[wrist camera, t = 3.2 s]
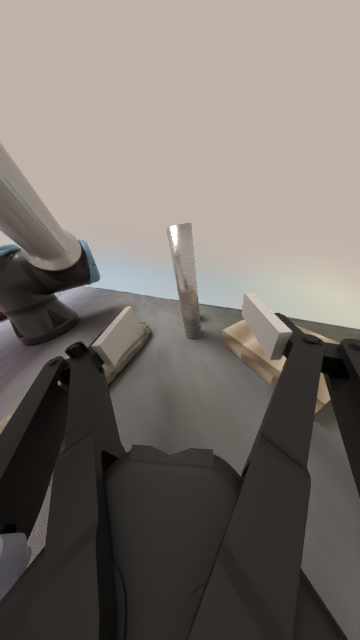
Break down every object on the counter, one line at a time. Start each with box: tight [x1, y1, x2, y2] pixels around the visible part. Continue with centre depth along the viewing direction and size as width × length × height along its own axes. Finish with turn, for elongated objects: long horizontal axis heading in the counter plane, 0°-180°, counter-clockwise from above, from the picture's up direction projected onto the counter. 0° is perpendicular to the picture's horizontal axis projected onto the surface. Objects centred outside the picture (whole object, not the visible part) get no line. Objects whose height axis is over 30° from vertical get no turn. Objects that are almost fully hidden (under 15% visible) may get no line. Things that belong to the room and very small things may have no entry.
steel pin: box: [167, 223, 201, 339], centre depth 23 cm, size 4×4×20 cm
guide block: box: [222, 319, 340, 415], centre depth 20 cm, size 14×10×4 cm
